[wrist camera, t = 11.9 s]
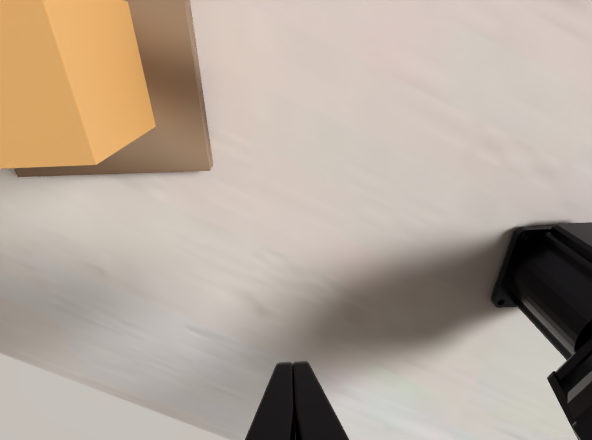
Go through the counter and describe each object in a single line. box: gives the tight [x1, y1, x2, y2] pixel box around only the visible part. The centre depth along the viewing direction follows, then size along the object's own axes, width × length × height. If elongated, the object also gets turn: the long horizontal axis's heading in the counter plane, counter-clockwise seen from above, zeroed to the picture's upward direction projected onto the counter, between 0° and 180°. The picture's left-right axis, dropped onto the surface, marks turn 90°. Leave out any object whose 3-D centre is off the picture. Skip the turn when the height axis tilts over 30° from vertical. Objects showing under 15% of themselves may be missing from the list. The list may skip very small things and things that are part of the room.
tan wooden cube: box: [0, 0, 156, 169], centre depth 12 cm, size 5×5×6 cm
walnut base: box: [14, 0, 213, 177], centre depth 15 cm, size 10×10×1 cm
